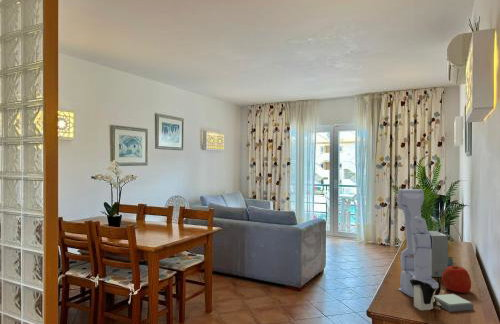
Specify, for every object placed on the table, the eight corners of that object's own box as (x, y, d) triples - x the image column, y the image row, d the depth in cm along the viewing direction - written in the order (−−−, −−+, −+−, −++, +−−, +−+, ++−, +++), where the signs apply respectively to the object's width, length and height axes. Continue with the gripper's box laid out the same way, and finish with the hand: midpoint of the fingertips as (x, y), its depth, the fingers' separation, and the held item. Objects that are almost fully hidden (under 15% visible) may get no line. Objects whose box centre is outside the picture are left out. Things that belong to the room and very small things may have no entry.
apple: (436, 288, 152) (436, 264, 153) (453, 284, 157) (453, 261, 157) (460, 296, 143) (459, 270, 143) (477, 292, 147) (476, 267, 147)
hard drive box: (449, 278, 166) (448, 236, 167) (431, 277, 168) (430, 235, 168) (438, 269, 181) (437, 230, 182) (422, 268, 183) (421, 230, 183)
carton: (414, 306, 133) (413, 285, 133) (425, 305, 134) (425, 284, 134) (420, 310, 129) (420, 288, 129) (432, 309, 130) (432, 287, 130)
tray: (431, 301, 138) (431, 295, 138) (453, 299, 139) (453, 293, 139) (449, 311, 128) (449, 304, 128) (473, 309, 129) (473, 302, 129)
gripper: (401, 260, 138) (402, 295, 138) (425, 271, 124) (426, 309, 124) (417, 259, 140) (418, 294, 139) (443, 270, 125) (444, 308, 125)
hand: (423, 301), depth 132 cm, fingers closed on carton, 4 cm apart
